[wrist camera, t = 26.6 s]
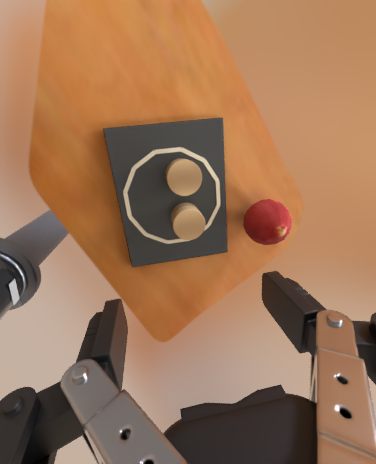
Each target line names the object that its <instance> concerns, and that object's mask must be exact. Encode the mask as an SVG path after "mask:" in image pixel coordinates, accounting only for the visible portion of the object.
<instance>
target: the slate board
mask: <svg viewBox="0 0 376 464" xmlns="http://www.w3.org/2000/svg"><path fill="white" fill-rule="evenodd" d="M103 130H104V135H105V140H106V145H107V149H108V154H109V159H110V164H111V168H112V173H113V178H114V183H115V187H116V192H117V197H118V202H119V207H120V211H121V216H122V221H123V226H124V230H125V235H126V240H127V245H128V249H129V254H130V259H131V264H132V267H136V266H143V265H149V264H155V263H162V262H168V261H175V260H181V259H187V258H194V257H200V256H206V255H213V254H219V253H225V252H228V250H227V222H226V193H225V164H224V136H223V118H213V119H202V120H192V121H181V122H170V123H159V124H148V125H137V126H126V127H115V128H104V129H103ZM178 158H184V159H187V160H190V161H192V162H194V163H195V164H197V165H198V167H199V168H200V170H201V173H202V182H201V185H200V187H199V189H198V190H197V191H196V192H195V193H193V194H191V195H188V196H181V195H178V194H176V193H174V192H173V191H172V190H171V189H170V187H169V185H168V183H167V181H166V178H165V171H166V168H167V166H168V164H169V163H170V162H171V161H173V160H175V159H178ZM181 203H191V204H193V205H195V206H196V207H197V208H198V210H199V211H200V212H201V214H202V215H203V217H204V219H205V229H204V231H203V233H202V234H201V235H200V236H199V237H198V238H196V239H193V240H184V239H181V238H179V237H178V236H177V235H176V234H175V232H174V229H173V226H172V222H171V213H172V211H173V209H174V208H175V207H176V206H177V205H179V204H181Z"/></svg>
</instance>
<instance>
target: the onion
mask: <svg viewBox="0 0 376 464" xmlns="http://www.w3.org/2000/svg"><path fill="white" fill-rule="evenodd" d="M291 222H292V219H291V216H290V214H289V211H288V210H287V209H286V208H285V206H284V205H283V204H281V203H280V202H277V201H274V200H270V199H267V200H261V201H259V202H257V203H255V204H253V205H252V206H251V207H250V208H249V209H248V210H247V212H246V214H245V216H244V228H245V231H246V233H247V234H248V236H249V237H250V238H251V239H252V240H253V241H255V242H257V243H260V244H263V245H271V244H277V243H278V242H280V241H282V240H284V239H285V237H286V236H287V235H288V233H289V231H290V229H291Z"/></svg>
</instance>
